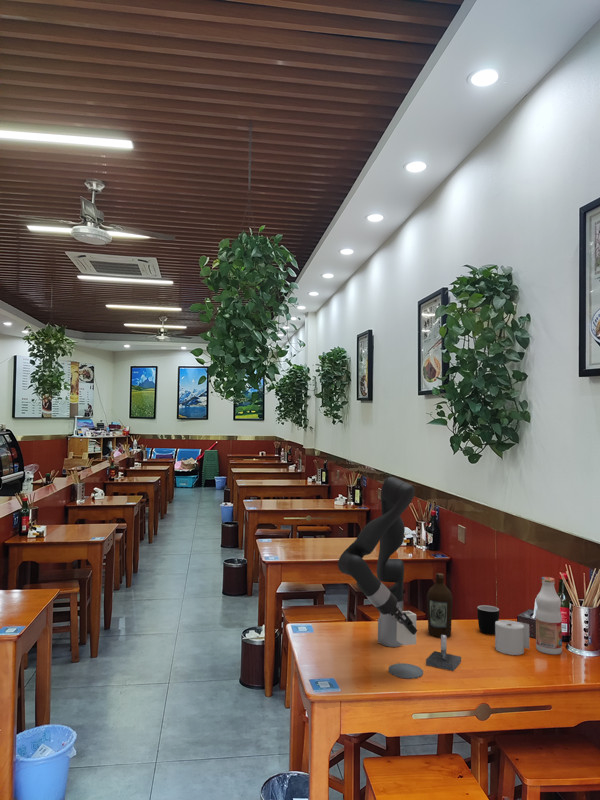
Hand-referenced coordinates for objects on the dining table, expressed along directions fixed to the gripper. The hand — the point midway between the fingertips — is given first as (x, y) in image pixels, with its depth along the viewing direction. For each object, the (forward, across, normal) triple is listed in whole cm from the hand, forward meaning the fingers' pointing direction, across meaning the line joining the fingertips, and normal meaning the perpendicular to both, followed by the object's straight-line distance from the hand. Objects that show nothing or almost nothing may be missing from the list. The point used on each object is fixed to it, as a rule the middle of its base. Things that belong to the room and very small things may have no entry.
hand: (410, 629), depth 200 cm
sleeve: (+2, 0, +4) cm, 4 cm away
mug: (+49, +29, -29) cm, 64 cm away
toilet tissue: (+45, +8, -25) cm, 52 cm away
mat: (+9, 0, +11) cm, 14 cm away
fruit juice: (+55, +3, -35) cm, 65 cm away
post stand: (+21, +3, -1) cm, 21 cm away
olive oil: (+33, +31, -13) cm, 47 cm away
